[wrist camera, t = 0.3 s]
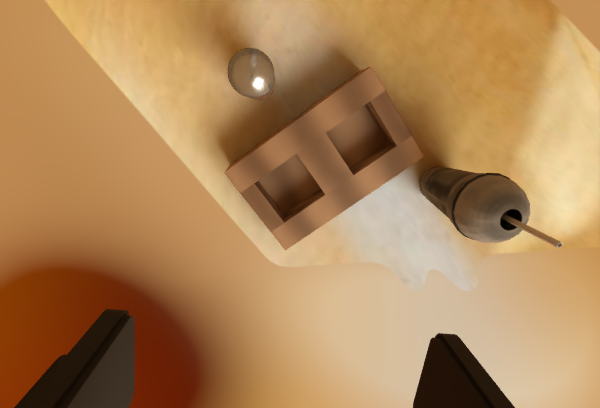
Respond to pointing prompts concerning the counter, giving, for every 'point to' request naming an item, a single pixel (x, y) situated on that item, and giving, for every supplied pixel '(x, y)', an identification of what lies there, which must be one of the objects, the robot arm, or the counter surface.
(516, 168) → the counter surface
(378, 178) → the walnut block
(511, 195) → the beverage cup
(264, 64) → the steel pin
